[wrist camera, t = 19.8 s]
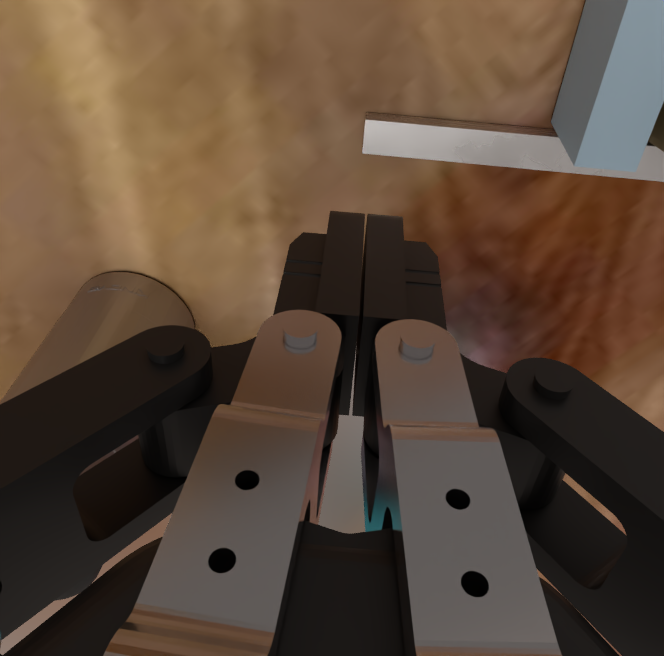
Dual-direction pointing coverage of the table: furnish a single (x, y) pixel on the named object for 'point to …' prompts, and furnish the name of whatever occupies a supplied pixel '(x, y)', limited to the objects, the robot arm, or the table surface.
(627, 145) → the free jaw
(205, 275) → the table surface
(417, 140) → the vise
